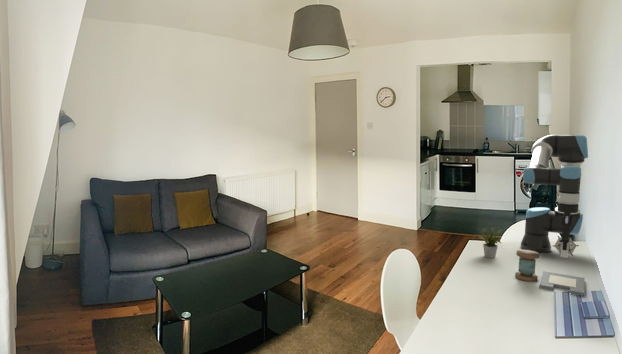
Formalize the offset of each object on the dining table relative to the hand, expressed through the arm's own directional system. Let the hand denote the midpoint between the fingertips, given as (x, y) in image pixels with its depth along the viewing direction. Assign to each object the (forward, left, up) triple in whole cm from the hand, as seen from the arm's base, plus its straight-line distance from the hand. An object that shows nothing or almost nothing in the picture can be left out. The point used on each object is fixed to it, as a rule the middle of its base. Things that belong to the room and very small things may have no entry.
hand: (564, 254), depth 177 cm
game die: (0, 0, 0) cm, 0 cm away
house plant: (-24, -35, -14) cm, 45 cm away
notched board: (0, 0, -14) cm, 14 cm away
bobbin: (0, -14, -14) cm, 20 cm away
